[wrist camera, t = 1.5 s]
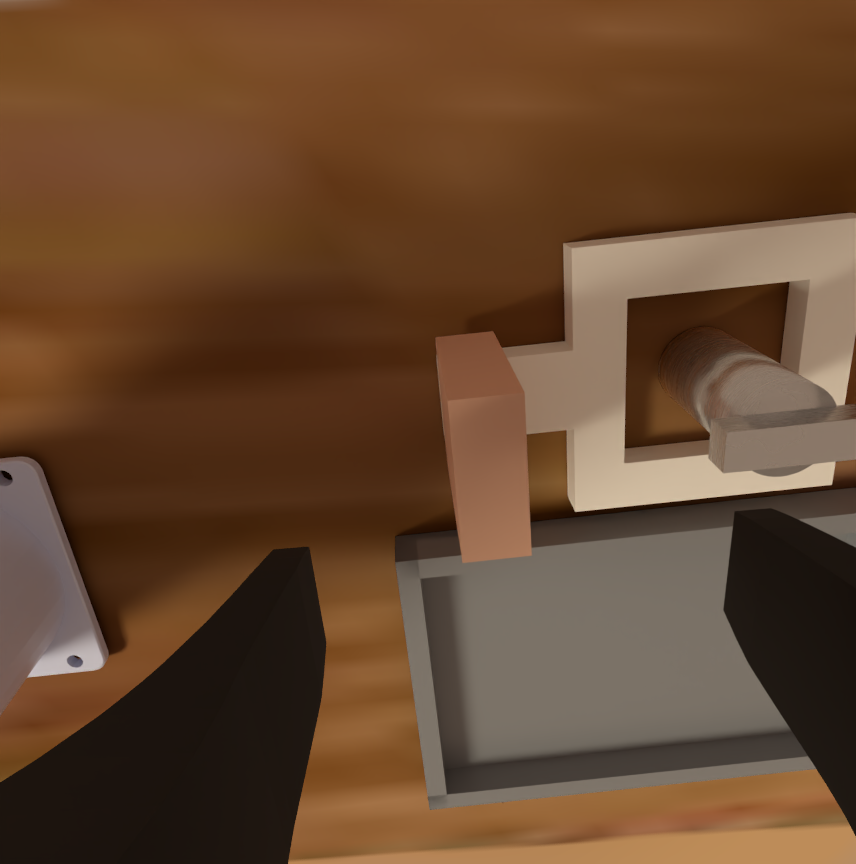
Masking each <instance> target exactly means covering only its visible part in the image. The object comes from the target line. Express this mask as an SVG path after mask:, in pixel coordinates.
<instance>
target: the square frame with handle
mask: <svg viewBox="0 0 856 864" xmlns="http://www.w3.org/2000/svg"><path fill="white" fill-rule="evenodd" d="M563 260H564V317H565V341H561V342H552V343H542V344H533V345H524V346H514V347H505V348H502V347H501V346H500V344H499V342H498V340H497V338H496V336H495V334H494V332H493V331H490V332H480V333H471V334H462V335H452V336H443V337H435V340H436V351H437V355H436V360H437V370H438V380H439V391H440V401H441V411H442V422H443V431H444V437H445V444H446V455H447V465H448V472H449V479H450V485H451V492H452V498H453V505H454V511H455V518H456V524H457V531H458V537H459V544H460V550H461V556H462V563H468V562H477V561H487V560H496V559H505V558H515V557H524V556H532V550H531V527H530V504H529V481H528V458H527V435H526V434H535V433H544V432H553V431H563V430H567V485H568V498H569V500H570V502H571V504H572V506H573V509H574V511H575V512H580V511H590V510H599V509H608V508H618V507H627V506H637V505H646V504H655V503H665V502H674V501H684V500H693V499H702V498H712V497H721V496H731V495H740V494H750V493H759V492H768V491H778V490H787V489H797V488H806V487H815V486H825V485H832V481H833V475H834V469H835V462H827V463H818V464H812V465H811V466H809V467H808V468H806V469H804V470H802V471H800V472H798V473H795V474H792V475H788V476H782V477H768V476H764V475H760V474H757V473H755V472H753V471H743V472H733V473H724V474H723V473H722V472H721V471H720V470H719V469H718V468H717V467H716V466H715V465H714V464H713V463H712V462H711V461H710V460H709V459H708V454H709V441H710V440H701V441H692V442H683V443H673V444H664V445H654V446H645V447H636V448H626V449H624V447H625V396H626V345H627V299H630V298H640V297H649V296H659V295H668V294H677V293H687V292H696V291H706V290H715V289H724V288H734V287H743V286H753V285H762V284H771V283H781V282H790V283H789V292H788V300H787V309H786V318H785V327H784V335H783V344H782V353H781V362H780V364H781V365H783V366H785V367H787V368H788V369H790V370H792V371H794V372H795V373H797V374H799V375H801V376H802V377H804V378H806V379H808V380H809V381H811V382H813V383H815V384H817V385H818V386H820V387H822V388H823V389H825V390H826V391H827V392H828V393H829V394H830V395H831V396H832V397H833V399H834V401H835V402H836V405H837V406H838V405H845V399H846V393H847V386H848V380H849V374H850V367H851V361H852V355H853V348H854V342H855V336H856V213H842V214H833V215H823V216H814V217H805V218H795V219H786V220H777V221H767V222H758V223H748V224H739V225H730V226H720V227H711V228H701V229H692V230H683V231H673V232H664V233H654V234H645V235H636V236H626V237H617V238H608V239H598V240H589V241H579V242H570V243H563Z"/></svg>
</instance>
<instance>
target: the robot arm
mask: <svg viewBox="0 0 856 864" xmlns="http://www.w3.org/2000/svg"><path fill="white" fill-rule="evenodd" d="M1 470H2V471H6V472H8V473H10V475H11V476H12V479H13V480H8V479H7V478H5V477H4V476H3V474H2V472H1ZM723 611H724V613H725V615H726V617H727V619H728V622H729V624H730V626H731V628H732V631H733V633H734V635H735V637H736V640H737V642H738V644H739V646H740V648H741V650H742V652H743V654H744V656H745V658H746V660H747V662H748V664H749V665H750V667H751V669H752V670H753V672H754V673H755V675H756V677H757V678H758V680H759V681H760V683H761V684H762V686H763V688H764V689H765V691H766V692H767V694H768V695H769V697H770V699H771V700H772V702H773V703H774V705H775V706H776V708H777V709H778V711H779V712H780V714H781V716H782V717H783V719H784V720H785V722H786V723H787V725H788V726H789V728H790V729H791V731H792V732H793V734H794V735H795V737H796V738H797V740H798V742H799V743H800V745H801V746H802V748H803V749H804V751H805V752H806V754H807V755H808V757H809V758H810V760H811V761H812V763H813V765H814V766H815V768H816V769H817V771H818V772H819V774H820V775H821V777H822V778H823V780H824V781H825V783H826V784H827V786H828V788H829V789H830V791H831V793H832V794H833V796H834V798H835V800H836V801H837V803H838V805H839V806H840V808H841V810H842V811H843V813H844V815H845V816H846V818H847V820H848V822H849V824H850V826H851V828H852V830H853V831H854V834H855V836H856V547H854V546H852V545H850V544H848V543H846V542H844V541H842V540H840V539H838V538H836V537H834V536H832V535H830V534H827V533H825V532H823V531H821V530H819V529H817V528H815V527H813V526H811V525H809V524H807V523H805V522H803V521H800V520H798V519H796V518H794V517H792V516H789V515H787V514H785V513H782V512H780V511H777V510H775V509H772V508H767V509H755V510H743V511H735V512H734V521H733V530H732V538H731V547H730V556H729V564H728V573H727V582H726V591H725V599H724V608H723ZM325 653H326V638H325V633H324V627H323V622H322V616H321V610H320V605H319V599H318V594H317V588H316V583H315V577H314V572H313V566H312V561H311V555H310V550H309V547H299V548H287V549H275V550H273V551H272V552H271V553H270V554H269V555H268V556H267V557H266V558H265V559H264V560H263V561H262V562H261V563H260V565H259V566H258V567H257V568H256V569H255V570H254V571H253V572H252V573H251V574H250V576H249V577H248V578H247V579H246V580H245V581H244V582H243V583H242V584H241V585H240V587H239V588H238V589H237V590H236V591H235V592H234V593H233V594H232V595H231V596H230V598H229V599H228V600H227V601H226V602H225V603H224V604H223V605H222V606H221V607H220V608H219V609H218V610H217V611H216V612H215V613H214V614H213V616H212V617H211V618H210V619H209V620H208V621H207V622H206V623H205V624H204V625H203V626H202V627H201V628H200V629H199V630H198V631H197V632H195V633H194V634H193V635H192V636H191V637H190V638H189V639H188V640H187V641H186V642H185V643H184V644H183V645H182V646H181V647H180V648H179V649H178V650H177V651H176V652H175V653H174V654H173V655H171V656H170V657H169V658H168V659H167V660H166V661H165V662H164V663H163V664H162V665H161V666H160V667H159V668H157V669H156V670H155V671H154V672H153V673H152V674H151V675H149V676H148V677H147V678H146V679H145V680H143V681H142V682H141V683H140V684H139V685H138V686H136V687H135V688H134V689H133V690H131V691H130V692H129V693H128V694H126V695H125V696H124V697H123V698H121V699H120V700H119V701H118V702H116V703H115V704H114V705H113V706H111V707H110V708H109V709H107V710H106V711H105V712H103V713H102V714H101V715H100V716H98V717H97V718H95V719H94V720H93V721H91V722H90V723H88V724H87V725H85V726H84V727H83V728H81V729H80V730H78V731H77V732H75V733H74V734H73V735H71V736H70V737H68V738H67V739H65V740H64V741H63V742H61V743H60V744H58V745H57V746H55V747H54V748H53V749H51V750H50V751H48V752H47V753H45V754H44V755H43V756H41V757H40V758H38V759H37V760H35V761H34V762H32V763H31V764H29V765H27V766H26V767H24V768H23V769H21V770H19V771H18V772H16V773H15V774H13V775H11V776H10V777H8V778H7V779H5V780H3V781H2V782H0V864H288V859H289V853H290V847H291V841H292V836H293V830H294V824H295V820H296V815H297V811H298V806H299V801H300V797H301V792H302V787H303V783H304V778H305V774H306V769H307V764H308V760H309V755H310V750H311V746H312V741H313V736H314V732H315V727H316V722H317V717H318V713H319V708H320V703H321V698H322V688H323V677H324V666H325ZM73 655H75V656H78V657H80V658H81V659H77V658H75V657H74V656H73ZM108 656H109V653H108V649H107V646H106V643H105V641H104V638H103V635H102V632H101V630H100V627H99V624H98V621H97V619H96V616H95V613H94V610H93V608H92V605H91V602H90V599H89V597H88V594H87V591H86V588H85V586H84V583H83V580H82V577H81V575H80V572H79V569H78V566H77V563H76V561H75V558H74V555H73V552H72V550H71V547H70V544H69V541H68V539H67V536H66V533H65V530H64V528H63V525H62V522H61V519H60V517H59V514H58V511H57V508H56V506H55V503H54V500H53V497H52V495H51V492H50V489H49V486H48V484H47V481H46V478H45V475H44V472H43V470H42V468H41V466H40V465H39V464H38V463H37V462H36V461H35V460H33V459H31V458H29V457H21V456H20V457H11V458H2V459H0V715H1V714H2V712H3V711H4V710H5V708H6V707H7V705H8V704H9V702H10V701H11V700H12V698H13V697H14V695H15V694H16V692H17V691H18V690H19V688H20V687H21V685H22V684H23V682H24V681H25V680H26V678H27V677H36V676H46V675H55V674H64V673H74V672H83V671H93V670H97V669H100V668H101V667H103V666H104V664H105V662H106V661H107V659H108Z"/></svg>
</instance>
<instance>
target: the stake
mask: <svg viewBox="0 0 856 864" xmlns="http://www.w3.org/2000/svg"><path fill="white" fill-rule="evenodd" d="M658 372H659V380H660V383H661V385H662V387H663V389H664V390H665V392H666V393H667V394H668V395H669V396H670V397H671V398H672V399H674V400H675V401H676V402H677V403H678V404H679V405H680V406H681V407H682V408H683V409H684V410H686V411H687V412H688V413H689V414H690V415H691V416H692V417H693V418H694V419H695V420H696V421H697V422H699V423H700V424H701V425H702V426H703V427H704V428H705V429H706V430H707V431H708V432H709V433H710V441H709V454H708V459H709V460H710V461H711V462H712V463H713V464H714V465H715V466H716V467H717V468H718V469H719V470H720V471H721V472H722V473H723V474H724V473H733V472H743V471H753V472H755V473H757V474H760V475H764V476H768V477H782V476H788V475H792V474H795V473H798V472H800V471H802V470H804V469H806V468H808V467H809V466H811V465H812V464H818V463H827V462H837V461H846V460H856V404H847V405H838V406H837V405H836V402H835V401H834V399H833V397H832V396H831V395H830V394H829V393H828V392H827V391H826V390H825V389H823V388H822V387H820V386H818V385H817V384H815V383H813V382H811V381H809V380H808V379H806V378H804V377H802V376H801V375H799V374H797V373H795V372H794V371H792V370H790V369H788V368H787V367H785V366H783V365H781V364H780V363H778V362H776V361H774V360H773V359H771V358H769V357H767V356H766V355H764V354H762V353H760V352H759V351H757V350H755V349H753V348H752V347H750V346H748V345H746V344H745V343H743V342H741V341H739V340H738V339H736V338H734V337H732V336H731V335H729V334H727V333H725V332H724V331H722V330H720V329H717V328H714V327H706V326H705V327H696V328H692V329H689V330H687V331H685V332H683V333H681V334H680V335H678V336H677V337H676V338H674V339H673V340H672V341H671V342H670V344H669V345H668V346H667V347H666V349H665V350H664V352H663V354H662V356H661V359H660V363H659V369H658Z"/></svg>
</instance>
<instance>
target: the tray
mask: <svg viewBox="0 0 856 864" xmlns="http://www.w3.org/2000/svg"><path fill="white" fill-rule="evenodd" d="M767 508H772V509H775V510H777V511H780V512H782V513H785V514H787V515H789V516H792V517H794V518H796V519H798V520H800V521H803V522H805V523H807V524H809V525H811V526H813V527H815V528H817V529H819V530H821V531H823V532H825V533H827V534H830V535H832V536H834V537H836V538H838V539H840V540H842V541H844V542H846V543H848V544H850V545H852V546H854V547H856V487H855V488H845V489H836V490H826V491H817V492H808V493H798V494H789V495H779V496H770V497H761V498H751V499H742V500H732V501H723V502H713V503H704V504H695V505H685V506H676V507H666V508H657V509H648V510H638V511H629V512H619V513H610V514H601V515H591V516H582V517H572V518H563V519H554V520H544V521H535V522H530V527H531V550H532V556H524V557H515V558H505V559H496V560H487V561H477V562H468V563H462V556H461V550H460V544H459V537H458V531H457V530H450V531H441V532H431V533H422V534H412V535H403V536H395V564H396V571H397V578H398V586H399V593H400V600H401V607H402V614H403V621H404V629H405V636H406V643H407V650H408V657H409V664H410V672H411V679H412V686H413V693H414V700H415V708H416V715H417V722H418V729H419V736H420V743H421V751H422V758H423V765H424V772H425V779H426V787H427V794H428V801H429V808H430V810H433V809H442V808H452V807H461V806H471V805H480V804H490V803H499V802H508V801H518V800H527V799H537V798H546V797H556V796H565V795H575V794H584V793H593V792H603V791H612V790H622V789H631V788H641V787H650V786H659V785H669V784H678V783H688V782H697V781H707V780H716V779H725V778H735V777H744V776H754V775H763V774H773V773H782V772H791V771H801V770H810V769H816V768H815V766H814V765H813V763H812V761H811V760H810V758H809V757H808V755H807V754H806V752H805V751H804V749H803V748H802V746H801V745H800V743H799V742H798V740H797V738H796V737H795V735H794V734H793V732H792V731H791V729H790V728H789V726H788V725H787V723H786V722H785V720H784V719H783V717H782V716H781V714H780V712H779V711H778V709H777V708H776V706H775V705H774V703H773V702H772V700H771V699H770V697H769V695H768V694H767V692H766V691H765V689H764V688H763V686H762V684H761V683H760V681H759V680H758V678H757V677H756V675H755V673H754V672H753V670H752V669H751V667H750V665H749V664H748V662H747V660H746V658H745V656H744V654H743V652H742V650H741V648H740V646H739V644H738V642H737V640H736V637H735V635H734V633H733V631H732V628H731V626H730V624H729V622H728V619H727V617H726V615H725V613H724V611H723V608H724V599H725V591H726V582H727V573H728V564H729V556H730V547H731V538H732V530H733V521H734V512H735V511H743V510H755V509H767Z"/></svg>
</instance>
